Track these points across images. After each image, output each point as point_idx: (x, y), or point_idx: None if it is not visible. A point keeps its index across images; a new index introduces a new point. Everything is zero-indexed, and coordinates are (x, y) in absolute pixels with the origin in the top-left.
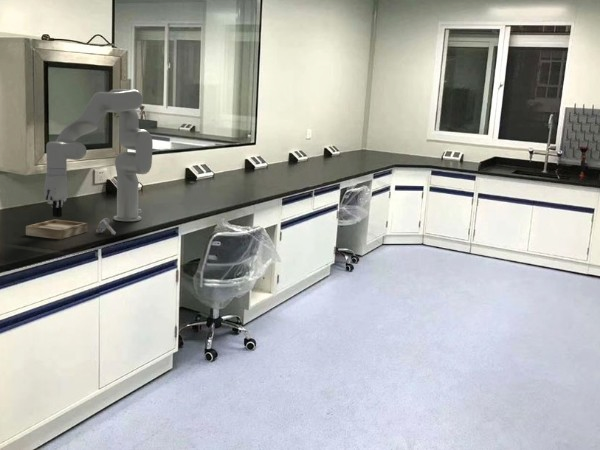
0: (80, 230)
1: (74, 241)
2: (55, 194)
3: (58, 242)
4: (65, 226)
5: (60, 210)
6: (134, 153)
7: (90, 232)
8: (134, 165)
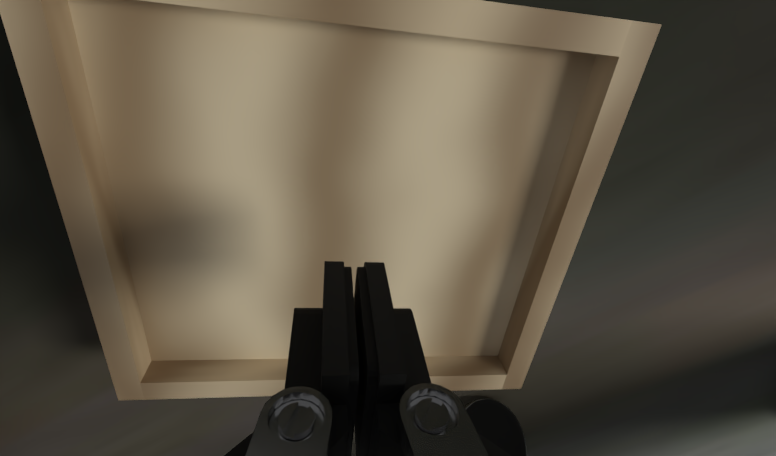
0: None
1: (167, 421)
2: None
3: (61, 374)
4: (424, 260)
5: (355, 420)
6: None
7: None
8: None
